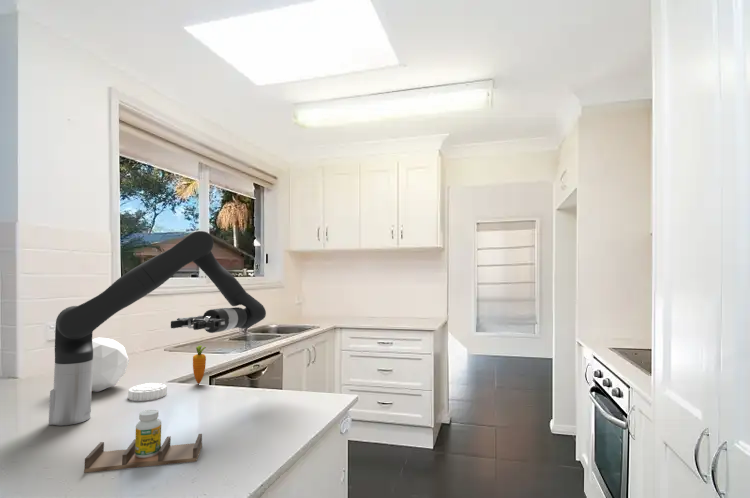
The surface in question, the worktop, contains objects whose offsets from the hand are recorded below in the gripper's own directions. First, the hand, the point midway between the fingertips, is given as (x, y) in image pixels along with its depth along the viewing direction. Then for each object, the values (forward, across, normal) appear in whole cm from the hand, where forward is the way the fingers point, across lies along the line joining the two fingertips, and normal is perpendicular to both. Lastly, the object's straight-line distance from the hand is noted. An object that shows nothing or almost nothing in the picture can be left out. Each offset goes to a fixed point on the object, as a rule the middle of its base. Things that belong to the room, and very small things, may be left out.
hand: (182, 325), depth 124 cm
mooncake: (-17, -31, +28) cm, 45 cm away
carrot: (-36, -26, +28) cm, 53 cm away
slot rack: (+21, +11, +28) cm, 37 cm away
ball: (-16, -55, +28) cm, 64 cm away
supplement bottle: (+21, +11, +27) cm, 36 cm away
